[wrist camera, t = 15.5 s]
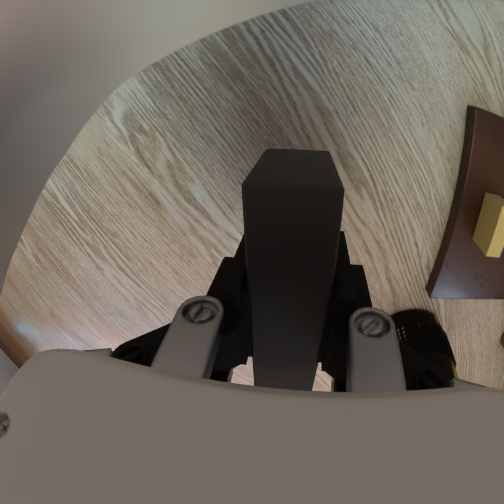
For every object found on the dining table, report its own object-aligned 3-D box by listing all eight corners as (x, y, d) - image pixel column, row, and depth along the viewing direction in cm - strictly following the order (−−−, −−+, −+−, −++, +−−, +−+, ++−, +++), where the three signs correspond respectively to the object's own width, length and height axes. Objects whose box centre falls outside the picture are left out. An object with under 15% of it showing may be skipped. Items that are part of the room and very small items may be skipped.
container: (358, 320, 31) (352, 592, 6) (442, 296, 27) (494, 555, 2) (370, 369, 36) (365, 573, 11) (439, 350, 32) (465, 550, 7)
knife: (265, 148, 9) (240, 183, 6) (330, 150, 9) (345, 187, 6) (268, 421, 20) (259, 465, 16) (295, 424, 19) (289, 468, 16)
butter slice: (485, 191, 19) (502, 205, 16) (498, 195, 18) (516, 209, 16) (471, 238, 21) (485, 256, 19) (485, 240, 21) (499, 258, 18)
